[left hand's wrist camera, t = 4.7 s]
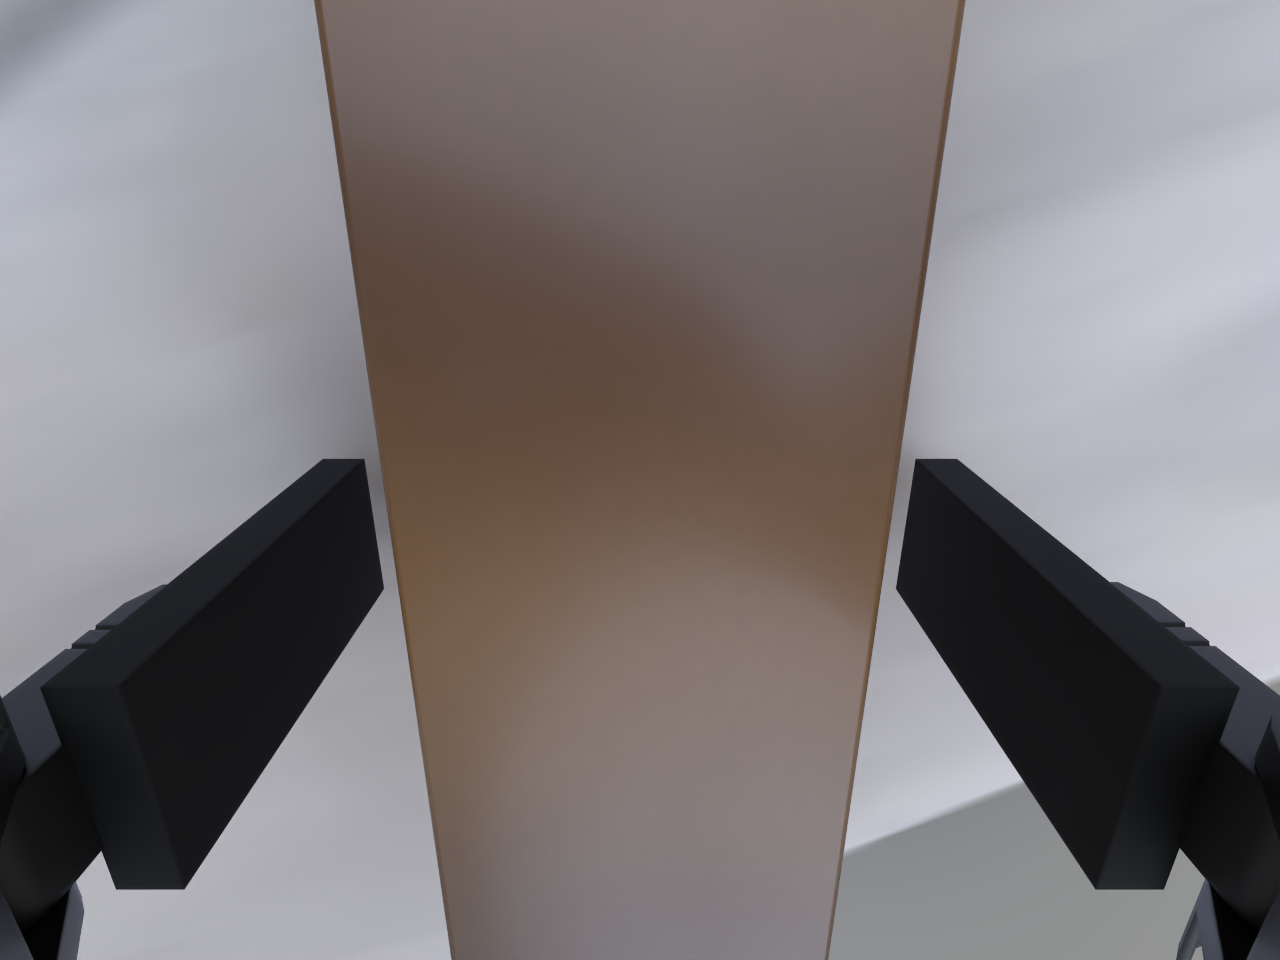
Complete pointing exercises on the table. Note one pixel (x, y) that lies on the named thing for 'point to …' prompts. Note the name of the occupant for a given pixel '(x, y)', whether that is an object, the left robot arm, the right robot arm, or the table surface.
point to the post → (639, 437)
